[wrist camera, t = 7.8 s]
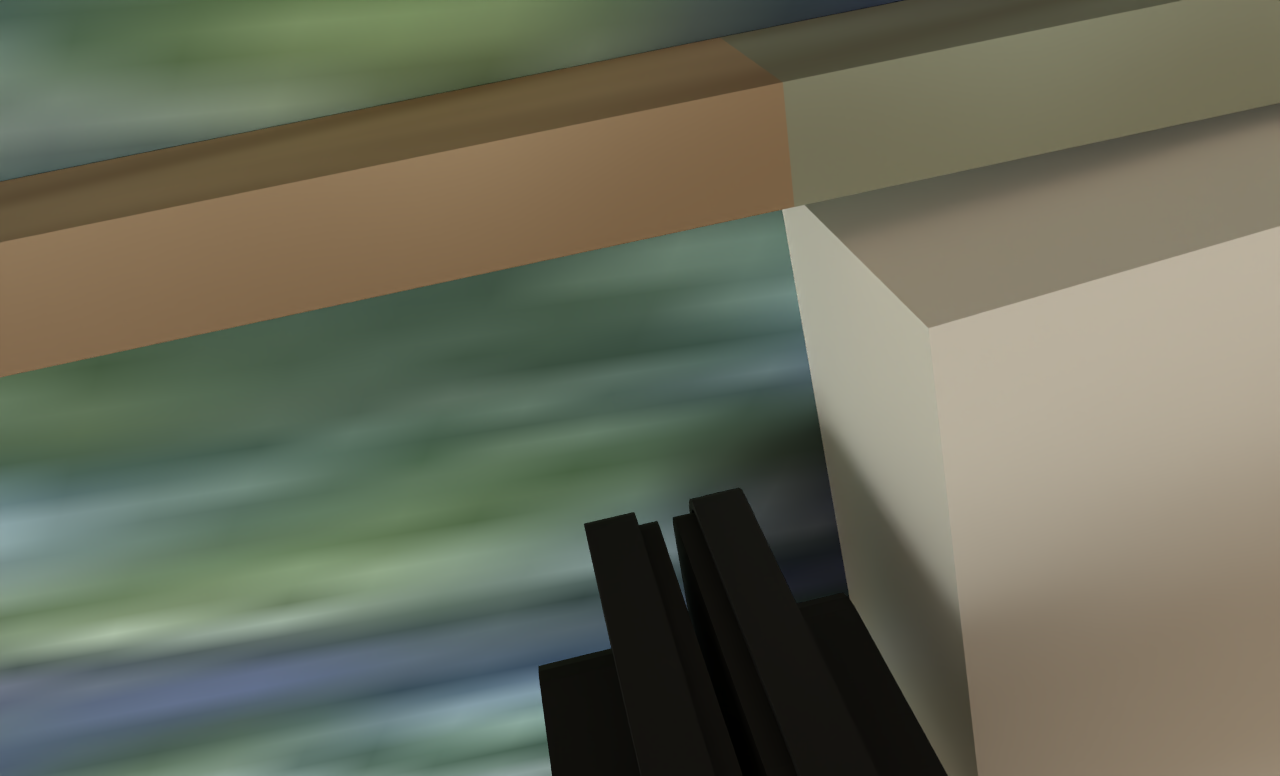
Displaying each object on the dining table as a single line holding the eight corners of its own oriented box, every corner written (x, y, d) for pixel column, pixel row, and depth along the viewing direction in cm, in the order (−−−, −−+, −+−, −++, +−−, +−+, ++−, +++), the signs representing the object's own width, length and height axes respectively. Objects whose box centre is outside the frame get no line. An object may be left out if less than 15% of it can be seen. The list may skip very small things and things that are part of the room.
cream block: (768, 170, 11) (928, 327, 8) (1321, 13, 11) (1726, 96, 8) (847, 613, 14) (989, 879, 10) (1286, 481, 14) (1570, 696, 11)
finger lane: (-1008, 384, 9) (-1480, 566, 7) (1557, -131, 11) (1851, -120, 8) (-262, 1121, 14) (-387, 1359, 12) (1373, 691, 16) (1524, 829, 14)
